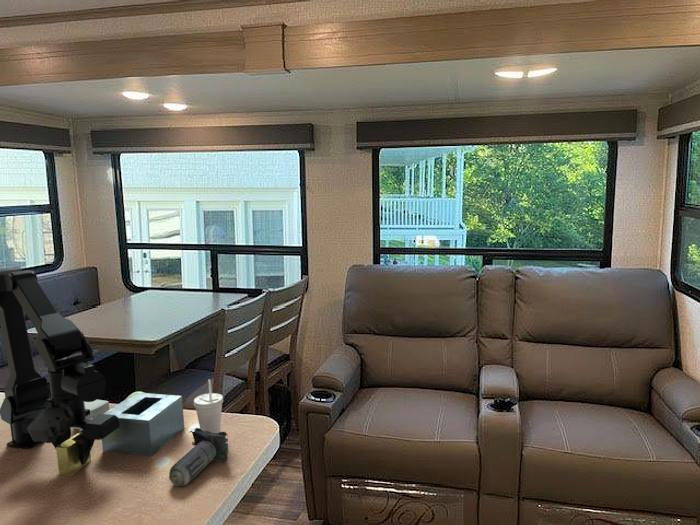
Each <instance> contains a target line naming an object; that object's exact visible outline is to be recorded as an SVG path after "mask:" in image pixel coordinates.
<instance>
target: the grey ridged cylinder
mask: <svg viewBox="0 0 700 525" xmlns="http://www.w3.org/2000/svg"><path fill="white" fill-rule="evenodd" d="M189 433H191V434H192V437H193V438H192V439H193V441H191V444H192V446H193V448H191V449H190V450H189V451H188V452H187V453H186V454H184V455H183V456H182V457H180V459H179V460H178V461H177V462H176V463H174V464H173V465H172V466H171V467H170V469H169V474H168V475H169V476H168V478H169V481H170V482H171V484H172V485H174V486H175V487H185V486H186V485H188V484H189V483H191V481H193V480H194V478H196V476H197V475H199V474H200V472H202V470H204V468H206V467H207V466H208V464H210V463H211V462H212V461H218V462H223V463H227V462H228V460H229V456H228V454H229V443H228V442H229V438H228V437H227V436H228V435H229V434H228V433H227V432H226V431H220V432H219V433H211V432H208V431H205V432H204V431H202V430H201V429H200V427H196V428H194V429H193V430H189Z"/></svg>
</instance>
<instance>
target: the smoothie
mask: <svg viewBox="0 0 700 525" xmlns="http://www.w3.org/2000/svg"><path fill="white" fill-rule="evenodd" d="M207 387H208V393H204V394H200V395H198V396H195V398H194V399H193V406H194V408H195V410H196V416H197V421H198V425H199V428H200V429H201V430H202V431H204V432H205V431H208V432H211V433H219V432H221V426H222V425H221V421H222V411H223V410H222V409H223V408H222V406H223V403H224V397H223V394H220V393H214V392H212V382H211V379H208V380H207Z"/></svg>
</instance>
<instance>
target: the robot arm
mask: <svg viewBox="0 0 700 525" xmlns="http://www.w3.org/2000/svg"><path fill="white" fill-rule="evenodd" d="M24 312H25V313H24ZM25 314H26V316H27V317H28V319H29V321H30V322H31V325H33V327H34V328H35V330H36V332H37V335H36V339H35V344H36V347H37V353H38V355H39V356H40V358H41V359H42V361H43V362H44V364H43V366H44V367H45V368H47V375H48V380H47V378H46V376H42V375H41V374H40V373H39V372H37V371H36V368H35V363H34V357H33V352H32V348H31V343H30V336H29V332H28V327H27V322H26V317H25ZM0 330H1V335H2V341H3V345H4V349H5V350H4V352H5V355H6V360H7V365H8V369H9V377H8V380H7V382H6V384H5V386H4V390H3V391H4V399H3V401H2V404H1V405H0V419H1V420H2V421H3V422H4V423H6V424H9V426H10V434H11V440H10V441H9V442H7V443H6V447H11V448H19V449H21V448H22V449H31V448H33V447H35V446H37V445H38V444H40V443H42V442H43V443H45V444H50V443H51V445H52V446H53V447H54V448H55V450H56V447H57V446H59V445H60V444H62V443H63V442H65V441H66V440H68V439H70V438H71V437H72V436H71V434H72V429H73V430H74V429H75V430H79V431H78V433H79V435H77V436H76V437H74V438H73V439H72V440H73V441H75V442H76V443H77V444H78V451H79V458H80V462H81V465H84V464H85V463H86V462H87V459H88V457H89V454H90V455H91V451H92V448H93V445H94V443H95V441H97V440H98V441H99V440H102V439H103V438H105V437H106V436H108V435H109V434H111V433H112V432H113V431H115V430H116V429H118V428H119V427H120V425H119V418H118V417H117V416H116V415H110V414H99V415H98V416H96V417H95V418H92V419H86V416H88V415H89V414H90V409H85V404H84V402H93V401H95V400H100V398H101V397H102V396H103V394H104V393H105V391H106V388H107V379H106V377H105V376H104V374H102V373H101V372H100V371H97V370H95V368H96V367H95V365H94V364H90V363H89V362H92V361H95V357H94V354H93V353H94V350H93V348H92V347H91V345H90V344H89V342H88V341H87V338H86V336H85V335H84V333H83V332H82V331H81V330H80V329H79V328H78V326H77V325H76V324H75V323H74V322H73V321H72V320H70V319H68V318H65V317H64V316H61V314H60V313H59V312H58V311H57V309H56V308H55V306H54V305H53V303H52V301H51V300H50V298H49V296H48V295H47V294H46V291H44V289H43V287H42V286H41V284H40V283H39V281H38V275H37V274H36V272H35V271H34V270H30V269H26V270H25V269H24V270H22V269H21V268H19V267H18V266H16V267H10V268H2V269H0ZM48 383H49V385H48Z"/></svg>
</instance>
